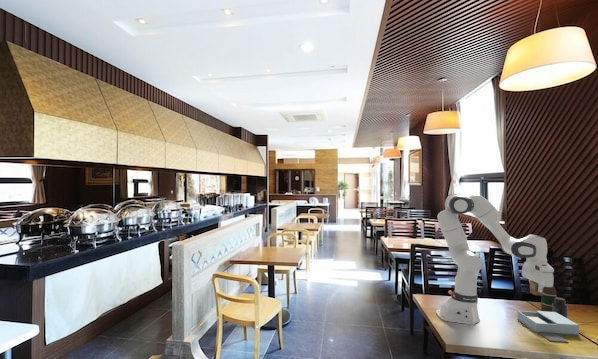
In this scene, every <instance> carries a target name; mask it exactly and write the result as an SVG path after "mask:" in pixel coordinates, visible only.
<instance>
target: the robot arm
mask: <svg viewBox="0 0 598 359" xmlns="http://www.w3.org/2000/svg"><path fill="white" fill-rule="evenodd" d="M443 203H444V204H443V210H441V211H440V212H438V214H437V217H436V218H437V222H438V225H439V228H440V230H441V232H442V235H443V237H444V240H445V241H446V243H447V246H448V250H449V255H450V258H451V260H452V261H453V263H454V264H455V265H457V272H456V275H455V277H454V290H453V291H452V290H448V292H447V293H448V294H449V295H450V297H449V298H447V299H445V300H444V301H442V302H441V305H440V307H439V308H440V309H436V310H435V313H436V315H437V317H438V318H440V319H441V320H442V321H445V322H452V323H458V324H466V325H474V326H475V325H476V323H480V321H481V318H480V316H479V310H478V294H477V293H478V291H477V285H478V284H477V280H478V276H479V273H480V271H481V269H482V267H483V261H482V260H481V258H480V257H479V255H478V254H476V252H473V251H471V249H470V247H469V244H468V236H467V234H466V233H465V231H464V228H463V226H462V224H461V222H460V220H459V215H464V214H467V213H471V214H472V215H473V216H474V217H475V219H477V220H478V221H479V222H480V223H481V224H482V225H483V226H484V227H486V228H487V229H488V230H489V232H491V234H493V236H494V237H495V238H496V239H497V241H498V243H499V246H500V249H501V250H502V252H504V253H505V254H508V255H510V256H513V257H516V258H517V259H518V258H519V259H526V260H525V261H524V262H523V264H522V267H521V277H522V278H526V279H528V282H529V284H530V282H536V283H538V286H539V287H538V288H537V291H538V292H542V289H543V288H544V287H552V286H554V281H555V280H554V273H555V269H554V268H553V267H552V265H550V264H549V263H548V259H547V254H548V243H547V239H546V238H545V237H543V236H541V235H536V234H531V233H530V234H528V235H527V236H524V237H522V238H517V237H516V238H515V237H513V236H511V235H509V233H508V232H507V231H506V230H505V229H504V228H503V226H502V225H501V223H500V221H501V219H502V216H501V214H500V212H499V210H498V209H497V208H496V207H495V206H494V205H493V204H492V203H491V202H490V201H489V200H488V199H486V198H485V197H484V196H482V195H481V194H479V193H477V194H472V195H471V196H469V197H466V196H465V195H462V194H459V193H451V194H448V195H447V196H446V197H445V199H444V202H443Z"/></svg>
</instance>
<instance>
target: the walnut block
mask: <svg viewBox="0 0 598 359" xmlns="http://www.w3.org/2000/svg"><path fill="white" fill-rule="evenodd" d="M538 287H539V286H538V283H536V282H530V283H529V293H530V294H532V295H534V296H540V297H541V296H543V289H542V292H538V291H537V288H538Z"/></svg>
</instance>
